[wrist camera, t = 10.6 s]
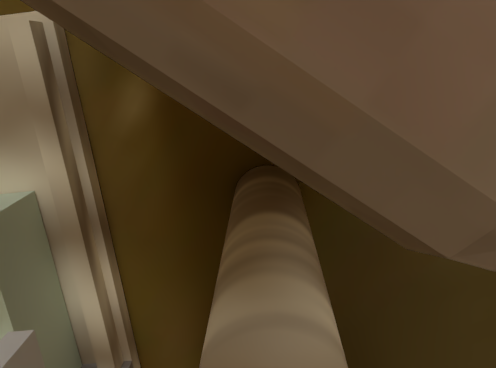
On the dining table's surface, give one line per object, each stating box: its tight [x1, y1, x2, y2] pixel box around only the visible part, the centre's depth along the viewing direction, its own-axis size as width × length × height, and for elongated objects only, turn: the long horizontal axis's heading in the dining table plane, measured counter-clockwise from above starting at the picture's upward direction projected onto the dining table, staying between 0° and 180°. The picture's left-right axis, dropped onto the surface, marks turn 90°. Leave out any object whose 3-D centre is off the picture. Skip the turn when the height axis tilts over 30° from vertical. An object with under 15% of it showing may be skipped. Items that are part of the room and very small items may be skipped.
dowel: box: [199, 165, 348, 368], centre depth 16 cm, size 4×4×14 cm
